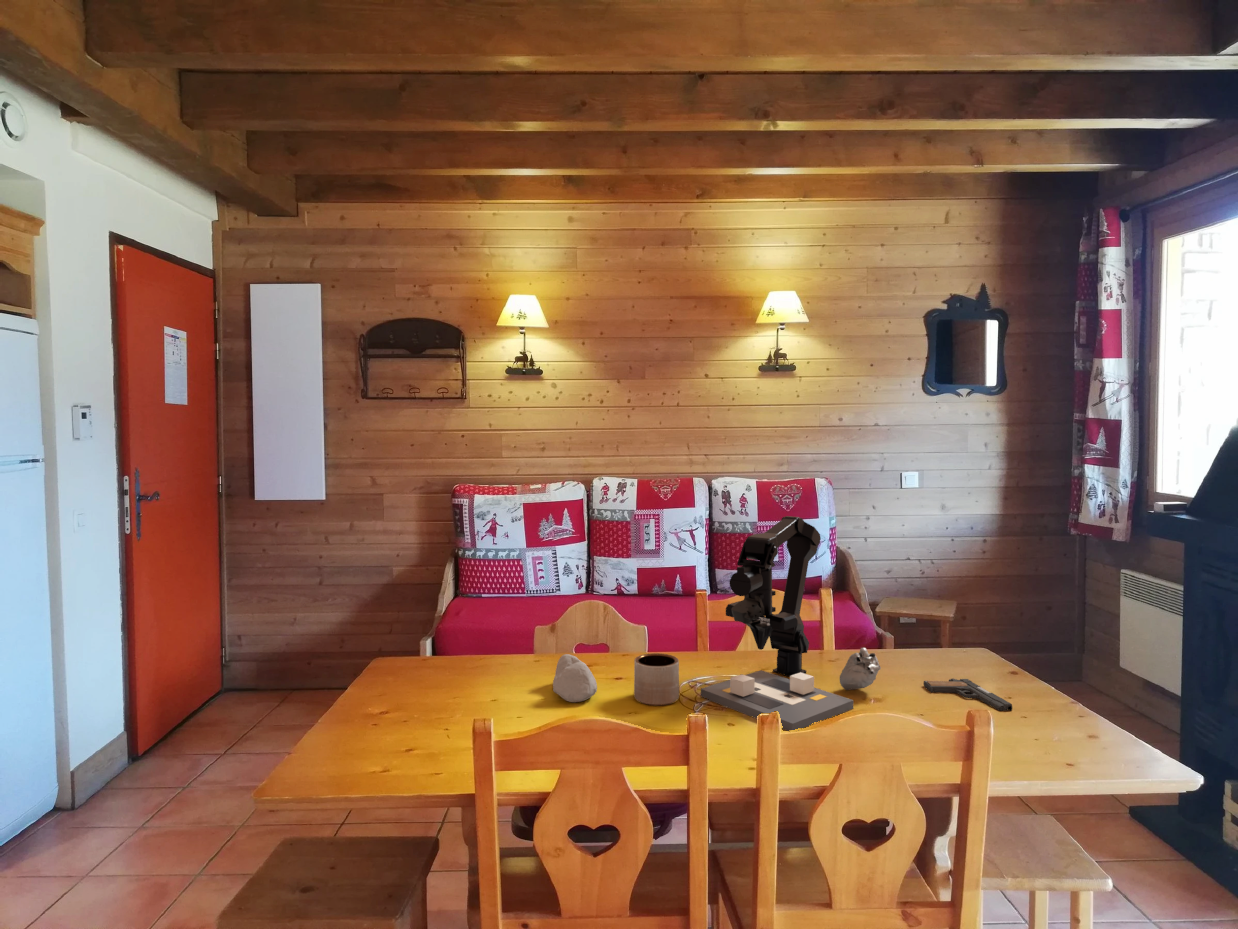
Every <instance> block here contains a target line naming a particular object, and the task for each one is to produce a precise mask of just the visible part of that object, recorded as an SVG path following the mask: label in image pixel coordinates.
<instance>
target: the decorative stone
mask: <svg viewBox="0 0 1238 929" xmlns="http://www.w3.org/2000/svg"><path fill="white" fill-rule="evenodd" d="M552 687H553V688H552V689H553V692H554V693H555V694H557V695H558V696H560V697H561V699H563V700H564V701H566V702H570V703H578V702H579V703H581V702H584V701H586V700H588V699H590V698H591V697H593V696H594V695H595V694H596V693H597V690H598V684H597V679H596V678H595V676H594V675H593V672H592V671H591V669H590V668H589V666H587V664H586V663H585V662H583V661H582V660H580V659H579V658H578V657H577V656H575V655H572V654H569V653H568V654H567V653H566V654H562V655H561V657H559V659H558V661H557V664H556V668H555V674H554V678H553V680H552Z"/></svg>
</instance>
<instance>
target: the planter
mask: <svg viewBox="0 0 1238 929" xmlns="http://www.w3.org/2000/svg"><path fill="white" fill-rule="evenodd" d="M633 662H634V664H633V665H634V672H633V674H634V675H633V678H634V680H633V682H634V683H633V685H634V686H633V696H634V699H635V700H636V701H637V702H638V703H641V704H643V705H647V706H651V707H652V706H653V707H654V706H655V707H657V706H658V707H661V706H662V707H663V706H668V705H671V704H673V703H674V704H675V702H676V701H677V702H678V700H679V698H680V659H679V658H678V657H676V656H675V655H672V654H667V653H661V652H660V653H658V652H656V653H655V652H653V653H645V654H641V655H638V656H636V657H635V658H634V661H633Z"/></svg>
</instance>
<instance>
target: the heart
mask: <svg viewBox="0 0 1238 929" xmlns="http://www.w3.org/2000/svg"><path fill="white" fill-rule="evenodd" d="M881 669H882V667H881V665H880V663H879V660H878V657H877V655H876V653H875V652H872V653H869V651H868V649H867V648H866V647H860V649H859V652H855V653H852V654H851V655H850V656H849V657H848V659H847V661H846V663H845V666H844V667H843V669H842V671H841V672H840V675H839V683H840V686H841V687H842V688H843V689H844V690H846V691H851V690H861V689H865V688H867V687H869V686H871V685H872V686H873V684H874V681H875V680H876V678H877V674H878V673H879V672H880V670H881ZM872 686H871V687H872Z"/></svg>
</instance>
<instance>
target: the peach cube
mask: <svg viewBox="0 0 1238 929" xmlns="http://www.w3.org/2000/svg"><path fill="white" fill-rule="evenodd" d="M789 679H790V690H791V691H794V692H797V693H800V694H803V695H804V694H807V693H810V692H812V691H814V687H815V676H813V675H810V674H807V673H801V672H800V673H797V674H794V675H791V676H790V677H789Z"/></svg>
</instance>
